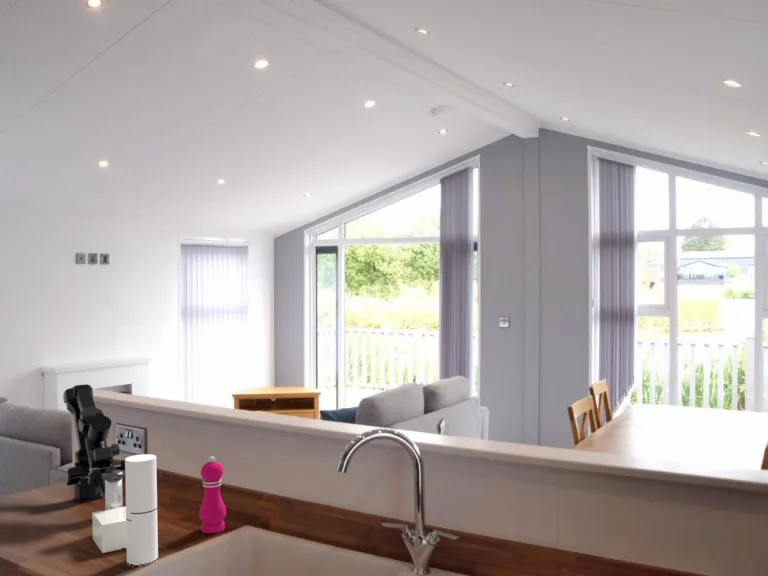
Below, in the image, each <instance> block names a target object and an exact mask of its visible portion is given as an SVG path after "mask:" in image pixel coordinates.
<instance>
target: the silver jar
mask: <svg viewBox="0 0 768 576" xmlns="http://www.w3.org/2000/svg"><path fill="white" fill-rule="evenodd" d="M123 476H124V471H123V470H111V471H107V472H104V473H103V474H102V480H104V479H105V498H104V499H105V500H104V503H105V506H104V510H109V509H114V508H120V507H124V505H123V503H124V502H123V500H124V499H123V498H124V497H123V478H124V477H123Z"/></svg>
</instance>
